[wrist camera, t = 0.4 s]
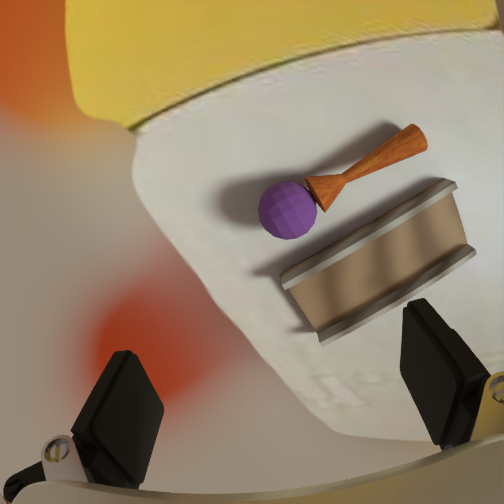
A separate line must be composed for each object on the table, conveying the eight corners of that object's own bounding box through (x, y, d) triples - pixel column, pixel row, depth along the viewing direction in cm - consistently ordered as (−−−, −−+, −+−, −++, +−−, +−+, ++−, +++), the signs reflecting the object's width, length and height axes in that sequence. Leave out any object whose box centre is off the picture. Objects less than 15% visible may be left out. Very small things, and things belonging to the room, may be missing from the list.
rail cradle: (443, 177, 33) (455, 182, 30) (465, 246, 36) (476, 254, 34) (280, 274, 38) (281, 285, 36) (319, 334, 41) (322, 346, 39)
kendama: (440, 167, 28) (281, 259, 32) (412, 154, 34) (272, 234, 37) (424, 116, 26) (250, 212, 29) (395, 110, 31) (245, 193, 34)
